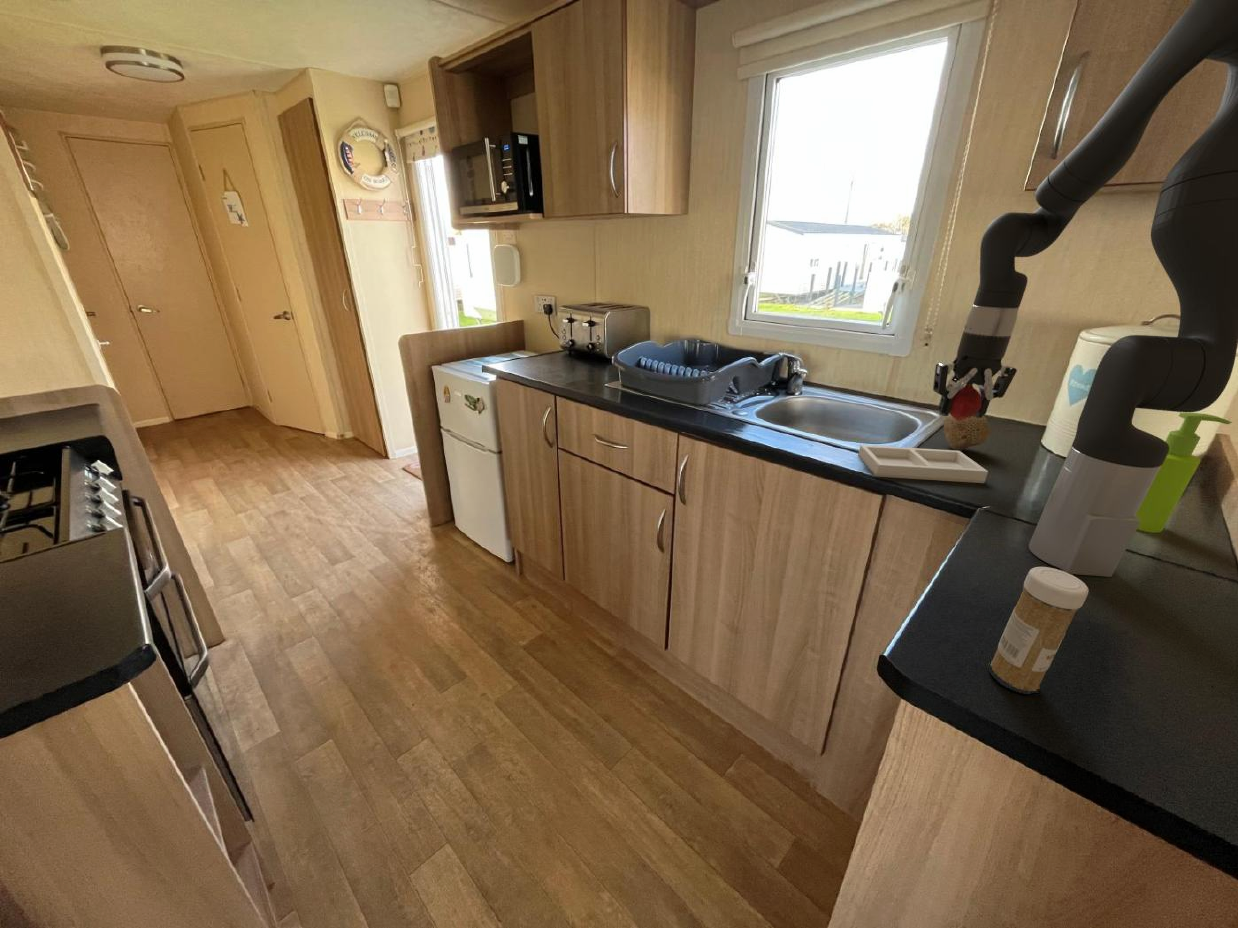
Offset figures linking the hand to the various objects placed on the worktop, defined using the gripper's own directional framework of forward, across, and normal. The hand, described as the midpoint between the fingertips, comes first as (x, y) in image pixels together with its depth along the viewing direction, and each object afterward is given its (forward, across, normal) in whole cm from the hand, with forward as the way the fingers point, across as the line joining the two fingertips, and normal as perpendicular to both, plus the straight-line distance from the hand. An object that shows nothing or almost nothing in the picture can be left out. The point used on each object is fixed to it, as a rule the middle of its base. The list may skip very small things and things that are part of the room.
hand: (960, 415), depth 99 cm
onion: (+1, 0, 0) cm, 1 cm away
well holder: (+12, -5, 0) cm, 13 cm away
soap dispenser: (+12, +24, -19) cm, 33 cm away
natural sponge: (+13, +10, +13) cm, 21 cm away
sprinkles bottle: (+12, -20, -58) cm, 63 cm away
